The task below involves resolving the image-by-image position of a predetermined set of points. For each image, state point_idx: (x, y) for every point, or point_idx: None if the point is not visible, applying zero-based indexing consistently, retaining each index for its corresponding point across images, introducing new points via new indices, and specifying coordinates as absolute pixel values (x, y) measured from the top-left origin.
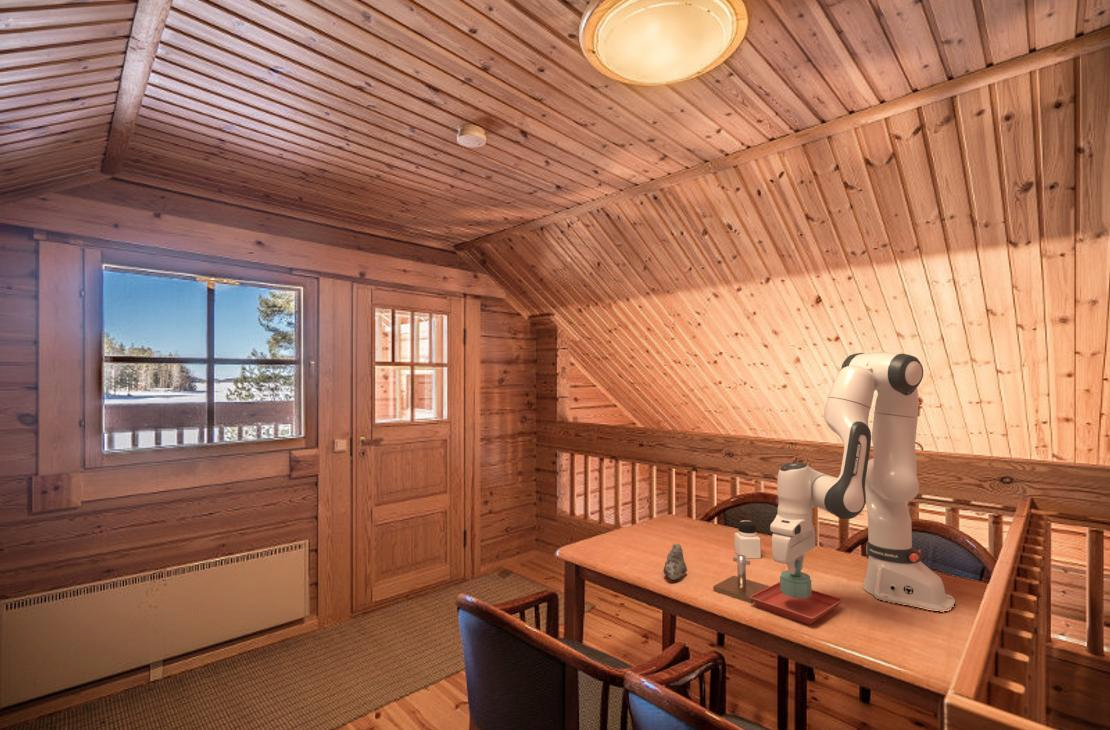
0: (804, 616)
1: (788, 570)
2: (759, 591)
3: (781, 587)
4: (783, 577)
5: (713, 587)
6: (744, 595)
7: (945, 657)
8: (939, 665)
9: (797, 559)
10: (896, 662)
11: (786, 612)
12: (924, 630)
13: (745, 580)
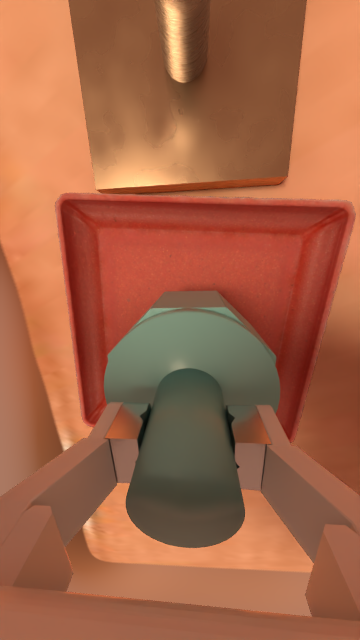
0: (82, 405)
1: (102, 416)
2: (187, 173)
3: (149, 308)
4: (113, 351)
5: None
6: (93, 148)
7: (185, 562)
8: (149, 558)
9: (292, 489)
10: (104, 524)
11: (85, 347)
12: (278, 538)
13: (182, 46)
